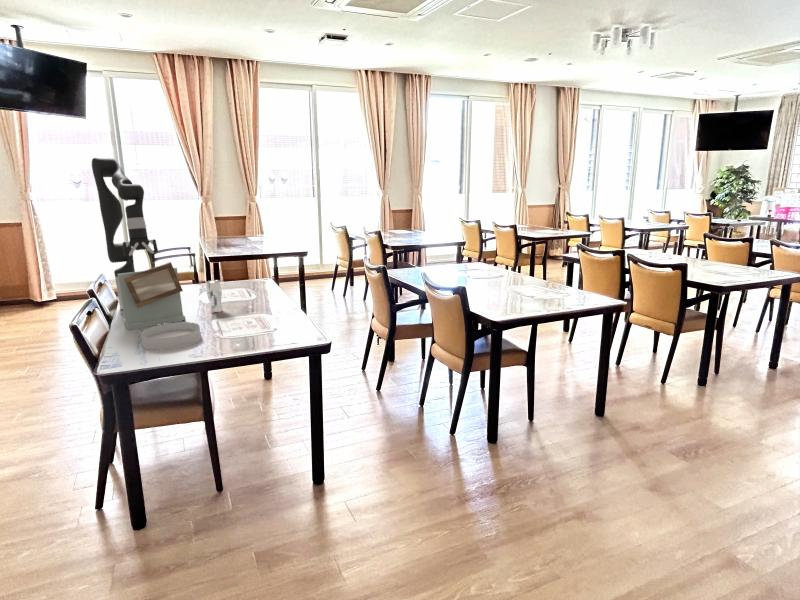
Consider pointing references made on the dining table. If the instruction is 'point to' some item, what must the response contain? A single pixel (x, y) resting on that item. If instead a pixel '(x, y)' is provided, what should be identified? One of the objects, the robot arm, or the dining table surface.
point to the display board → (149, 307)
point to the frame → (153, 284)
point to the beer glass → (214, 295)
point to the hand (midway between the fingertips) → (142, 262)
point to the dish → (171, 335)
